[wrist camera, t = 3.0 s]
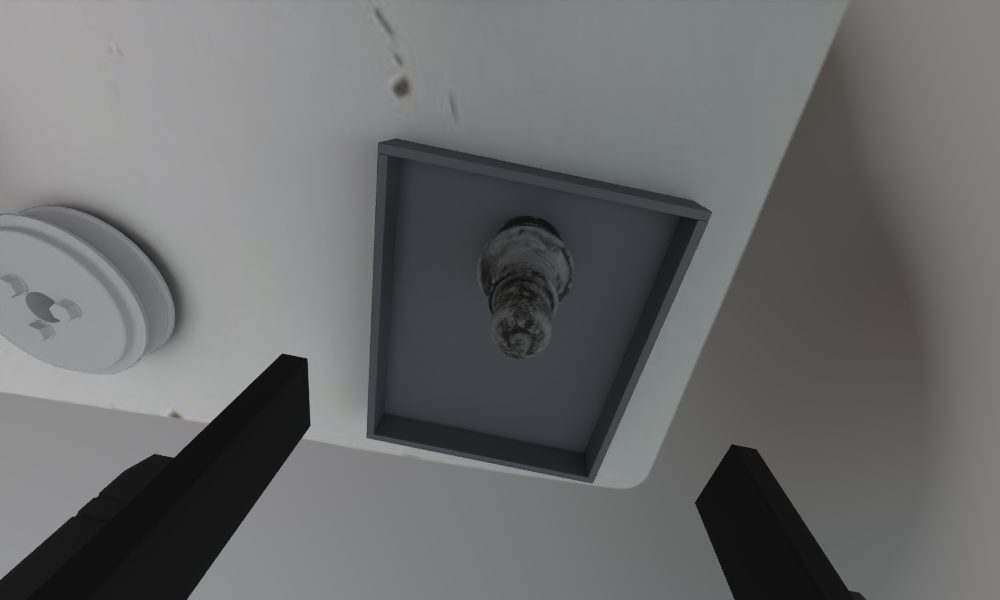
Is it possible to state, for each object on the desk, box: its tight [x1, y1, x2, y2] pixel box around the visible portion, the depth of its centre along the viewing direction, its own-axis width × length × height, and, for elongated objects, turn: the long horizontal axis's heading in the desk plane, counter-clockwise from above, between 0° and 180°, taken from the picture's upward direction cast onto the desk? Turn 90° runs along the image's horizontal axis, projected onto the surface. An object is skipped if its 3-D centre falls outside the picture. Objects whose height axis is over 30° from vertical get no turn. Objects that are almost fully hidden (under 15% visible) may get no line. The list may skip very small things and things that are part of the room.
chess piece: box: [476, 216, 574, 359], centre depth 21 cm, size 6×6×12 cm
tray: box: [367, 139, 712, 483], centre depth 28 cm, size 23×19×3 cm
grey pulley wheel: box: [0, 206, 175, 374], centre depth 29 cm, size 13×13×5 cm
